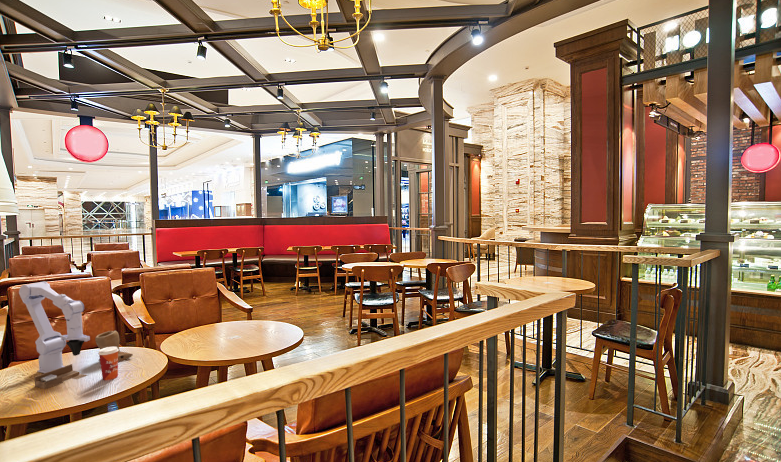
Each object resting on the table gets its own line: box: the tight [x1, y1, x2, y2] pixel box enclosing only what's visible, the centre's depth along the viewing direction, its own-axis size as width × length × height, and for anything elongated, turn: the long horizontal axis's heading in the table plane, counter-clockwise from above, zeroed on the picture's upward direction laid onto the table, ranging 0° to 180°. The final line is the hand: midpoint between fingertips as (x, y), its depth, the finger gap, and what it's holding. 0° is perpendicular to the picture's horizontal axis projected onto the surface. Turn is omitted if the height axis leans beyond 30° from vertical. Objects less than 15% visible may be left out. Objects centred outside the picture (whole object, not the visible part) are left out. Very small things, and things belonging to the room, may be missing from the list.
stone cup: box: [94, 330, 134, 362], centre depth 200 cm, size 15×12×15 cm
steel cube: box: [41, 374, 57, 382], centre depth 172 cm, size 4×4×4 cm
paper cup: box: [97, 347, 120, 381], centre depth 178 cm, size 8×8×14 cm
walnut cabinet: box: [33, 363, 88, 390], centre depth 176 cm, size 10×15×5 cm
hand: (76, 354), depth 185 cm, fingers closed
